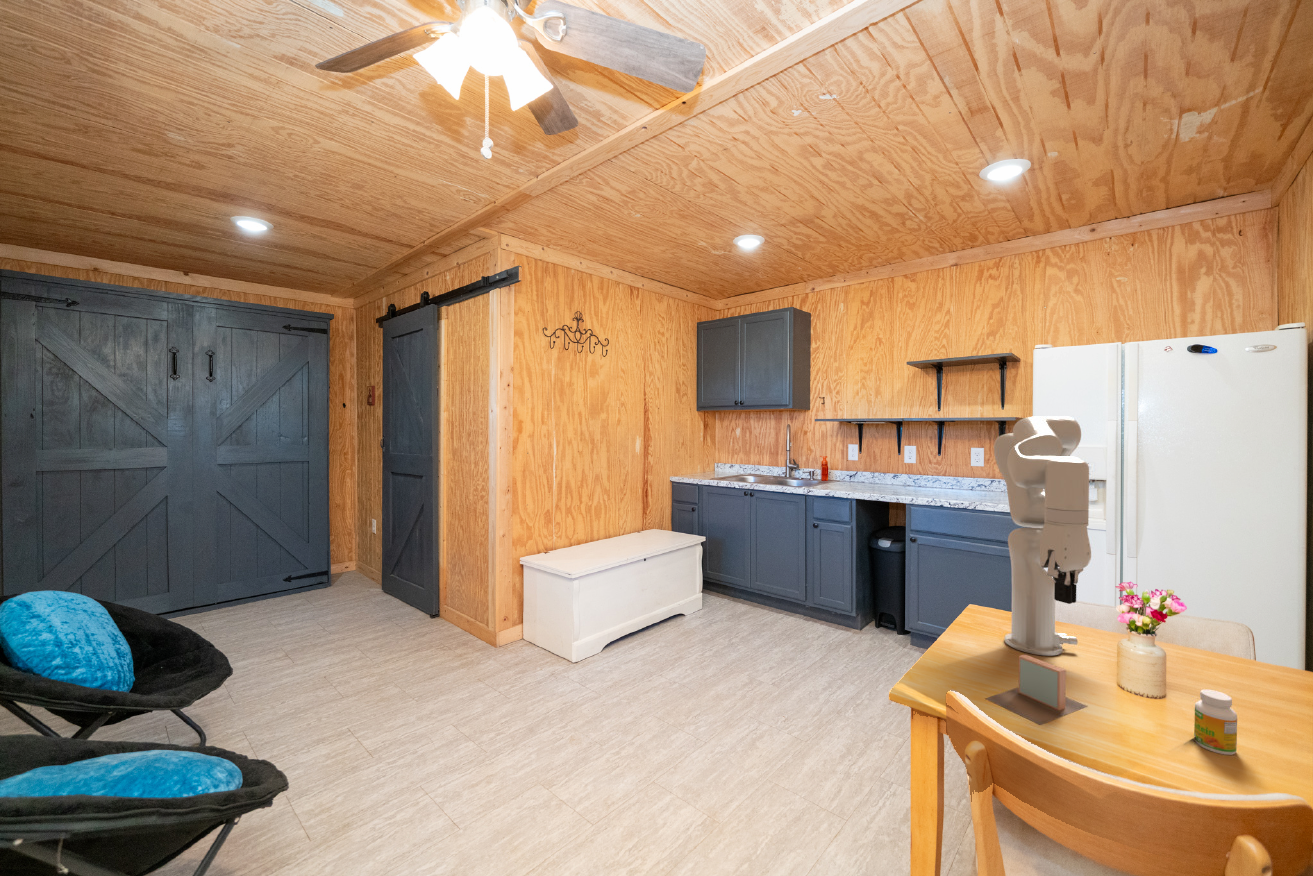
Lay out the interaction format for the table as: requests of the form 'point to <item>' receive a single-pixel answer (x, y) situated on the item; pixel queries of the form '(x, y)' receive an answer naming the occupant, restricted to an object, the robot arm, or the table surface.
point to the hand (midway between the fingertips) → (1065, 601)
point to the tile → (1042, 681)
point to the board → (1033, 706)
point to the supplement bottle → (1215, 723)
